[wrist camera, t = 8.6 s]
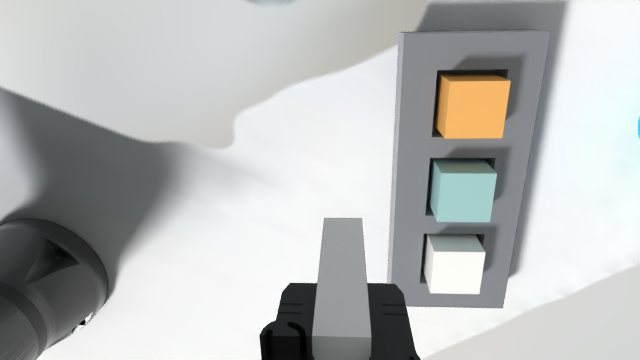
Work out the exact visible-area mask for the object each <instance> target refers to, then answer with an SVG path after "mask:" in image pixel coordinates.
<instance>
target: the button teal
mask: <svg viewBox="0 0 640 360" xmlns="http://www.w3.org/2000/svg"><path fill="white" fill-rule="evenodd" d="M496 177H497V173H496V172H495V171H494V170H493V169H492V168H491V166H490V165H489V164H488V163H487V162H486V161H485V160H484V159H433V162H432V174H431V186H430V197H429V205H430V207H431V209H432V212H433V214H434V216H435V218H436V221H437V222H490V218H491V211H492V205H493V198H494V191H495V184H496Z"/></svg>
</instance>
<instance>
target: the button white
mask: <svg viewBox="0 0 640 360" xmlns="http://www.w3.org/2000/svg"><path fill="white" fill-rule="evenodd" d="M484 259H485V251H484V249H483V247H482V245H481V244H480V242H479V240H478V239H477V237H476V235H475V234H426V245H425V256H424V268H423V271H424V274H425V278H426V281H427V284H428V288H429V291H430V293H441V294H479V293H480V286H481V280H482V273H483V266H484Z"/></svg>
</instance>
